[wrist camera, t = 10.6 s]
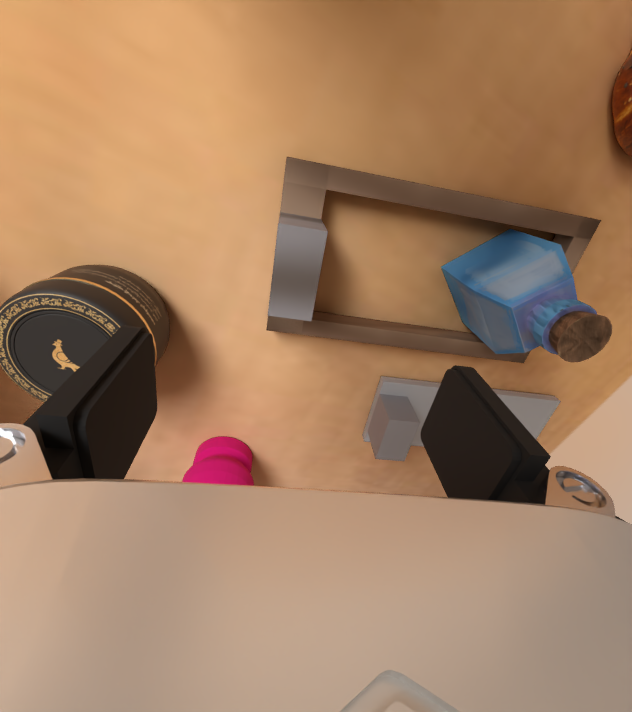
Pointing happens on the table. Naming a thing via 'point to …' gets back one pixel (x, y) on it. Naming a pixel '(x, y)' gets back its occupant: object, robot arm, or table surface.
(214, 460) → the pepper mill
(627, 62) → the pretzel
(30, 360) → the jar
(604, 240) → the table surface
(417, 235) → the table surface
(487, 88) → the table surface
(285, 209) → the rectangular wooden frame
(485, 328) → the perfume bottle
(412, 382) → the grey l-shaped piece
